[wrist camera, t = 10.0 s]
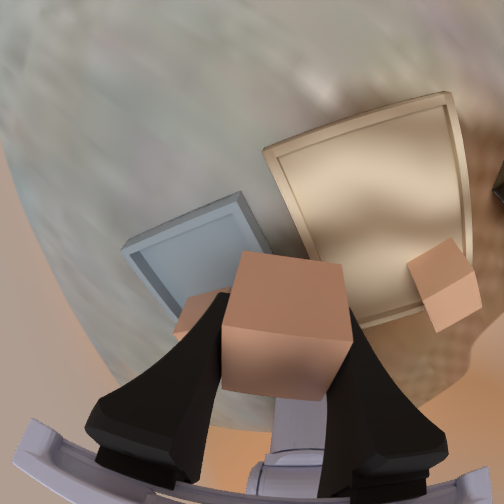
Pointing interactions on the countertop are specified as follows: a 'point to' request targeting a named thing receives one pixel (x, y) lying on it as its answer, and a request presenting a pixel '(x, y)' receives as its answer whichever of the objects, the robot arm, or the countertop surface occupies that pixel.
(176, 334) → the chunk
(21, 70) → the countertop surface
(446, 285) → the chunk
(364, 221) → the birch tray
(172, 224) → the slate dish
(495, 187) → the beverage carton
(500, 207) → the countertop surface
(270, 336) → the chunk
